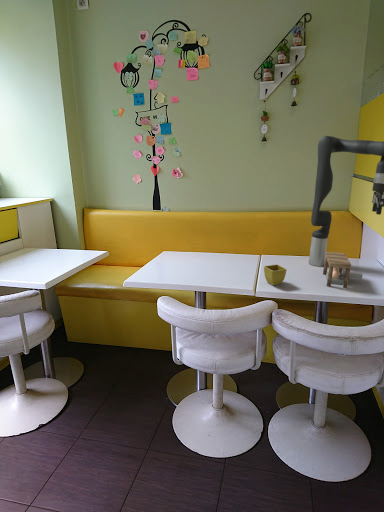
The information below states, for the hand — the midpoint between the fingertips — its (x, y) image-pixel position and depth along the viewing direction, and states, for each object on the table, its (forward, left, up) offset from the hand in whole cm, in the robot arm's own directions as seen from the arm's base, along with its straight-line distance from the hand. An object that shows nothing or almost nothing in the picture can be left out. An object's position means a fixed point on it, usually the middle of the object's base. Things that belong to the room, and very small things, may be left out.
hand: (376, 212), depth 183 cm
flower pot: (+25, -50, -36) cm, 67 cm away
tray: (+12, -13, -36) cm, 40 cm away
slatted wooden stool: (+12, -18, -36) cm, 42 cm away
